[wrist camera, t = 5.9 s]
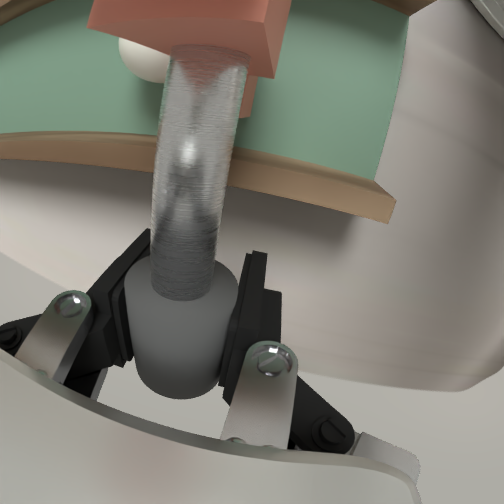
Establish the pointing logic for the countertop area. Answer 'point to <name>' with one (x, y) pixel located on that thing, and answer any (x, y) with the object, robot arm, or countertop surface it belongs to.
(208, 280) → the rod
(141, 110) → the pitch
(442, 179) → the countertop surface
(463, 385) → the countertop surface
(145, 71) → the egg
